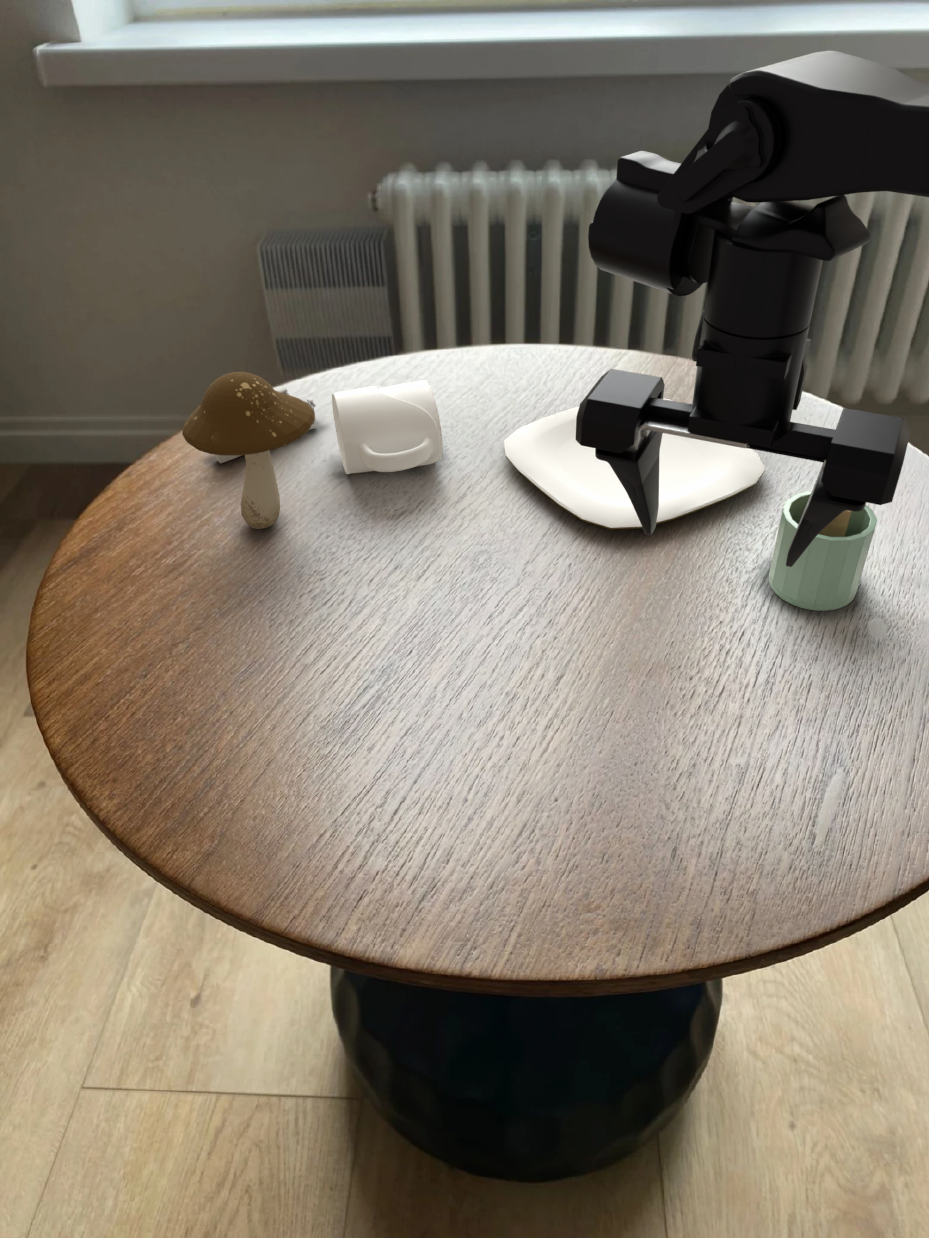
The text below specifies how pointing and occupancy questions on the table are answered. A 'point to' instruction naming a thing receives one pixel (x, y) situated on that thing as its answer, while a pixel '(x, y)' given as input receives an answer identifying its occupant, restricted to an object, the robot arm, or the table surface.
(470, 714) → the table surface
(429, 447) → the mug
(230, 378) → the mushroom
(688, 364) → the table surface
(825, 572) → the cup
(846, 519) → the stick
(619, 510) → the plate
